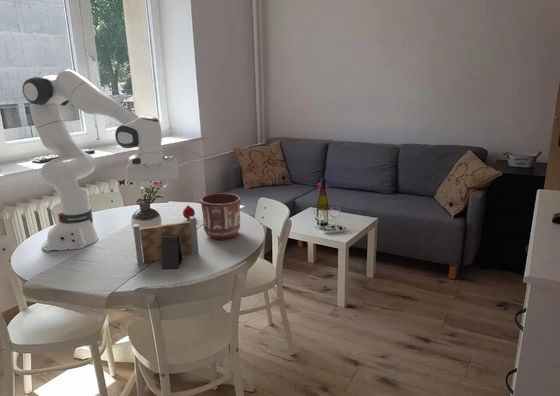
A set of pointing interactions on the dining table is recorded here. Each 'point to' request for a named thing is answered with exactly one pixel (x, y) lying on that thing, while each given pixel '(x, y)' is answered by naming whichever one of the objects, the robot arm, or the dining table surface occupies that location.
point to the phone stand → (171, 252)
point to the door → (153, 239)
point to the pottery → (221, 215)
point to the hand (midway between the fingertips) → (153, 191)
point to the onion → (188, 212)
